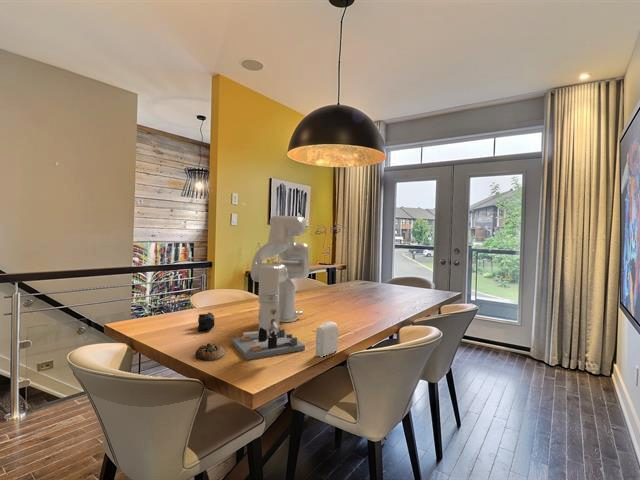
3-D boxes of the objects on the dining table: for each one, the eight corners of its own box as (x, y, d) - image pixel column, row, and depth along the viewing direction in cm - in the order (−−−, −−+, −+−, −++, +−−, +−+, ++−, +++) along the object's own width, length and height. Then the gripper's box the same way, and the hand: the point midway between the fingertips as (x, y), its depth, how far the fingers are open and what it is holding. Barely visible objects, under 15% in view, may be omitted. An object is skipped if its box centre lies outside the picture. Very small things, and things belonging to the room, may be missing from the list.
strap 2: (291, 340, 138) (292, 336, 138) (294, 342, 135) (295, 338, 135) (252, 343, 129) (252, 339, 129) (255, 345, 127) (255, 341, 127)
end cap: (214, 331, 155) (214, 317, 155) (198, 332, 153) (198, 317, 153) (214, 325, 165) (214, 311, 164) (198, 326, 163) (199, 312, 162)
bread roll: (188, 356, 125) (190, 342, 125) (212, 351, 134) (214, 339, 134) (207, 364, 118) (209, 350, 119) (231, 359, 128) (233, 346, 128)
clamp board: (284, 335, 152) (284, 324, 152) (304, 350, 135) (305, 337, 135) (231, 343, 140) (231, 331, 140) (246, 360, 123) (247, 346, 122)
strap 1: (280, 332, 148) (280, 328, 148) (282, 334, 146) (283, 330, 146) (242, 335, 140) (243, 331, 140) (245, 337, 137) (245, 333, 137)
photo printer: (322, 358, 126) (323, 326, 126) (313, 355, 129) (314, 323, 129) (338, 351, 134) (339, 321, 134) (330, 349, 137) (331, 318, 137)
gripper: (287, 302, 120) (286, 349, 120) (269, 294, 135) (268, 336, 135) (267, 303, 116) (266, 352, 116) (251, 295, 131) (250, 339, 131)
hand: (267, 344), depth 125 cm, fingers open, 9 cm apart
